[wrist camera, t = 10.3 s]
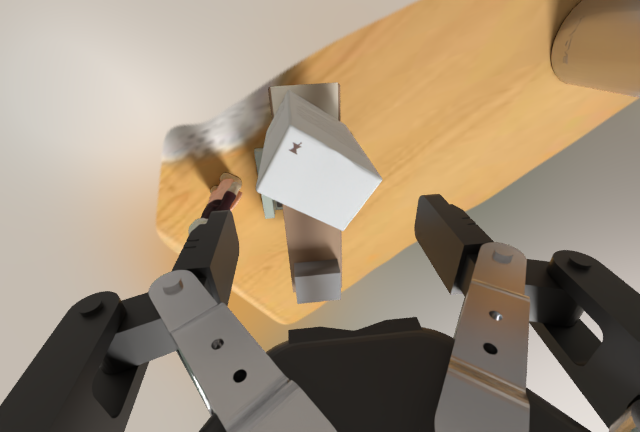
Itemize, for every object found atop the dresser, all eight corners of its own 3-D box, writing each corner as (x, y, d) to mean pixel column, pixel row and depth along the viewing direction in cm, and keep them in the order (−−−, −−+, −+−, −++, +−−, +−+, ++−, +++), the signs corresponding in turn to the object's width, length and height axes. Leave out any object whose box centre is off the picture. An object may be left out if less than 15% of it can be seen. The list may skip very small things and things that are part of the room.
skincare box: (265, 133, 26) (250, 191, 16) (288, 88, 25) (288, 120, 14) (323, 164, 28) (343, 235, 18) (348, 125, 27) (386, 177, 16)
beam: (342, 78, 27) (353, 85, 23) (343, 271, 39) (351, 301, 35) (262, 83, 27) (256, 91, 22) (287, 276, 39) (287, 308, 34)
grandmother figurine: (229, 214, 39) (208, 282, 29) (201, 202, 38) (168, 268, 27) (256, 168, 36) (243, 225, 26) (226, 152, 35) (200, 205, 24)
